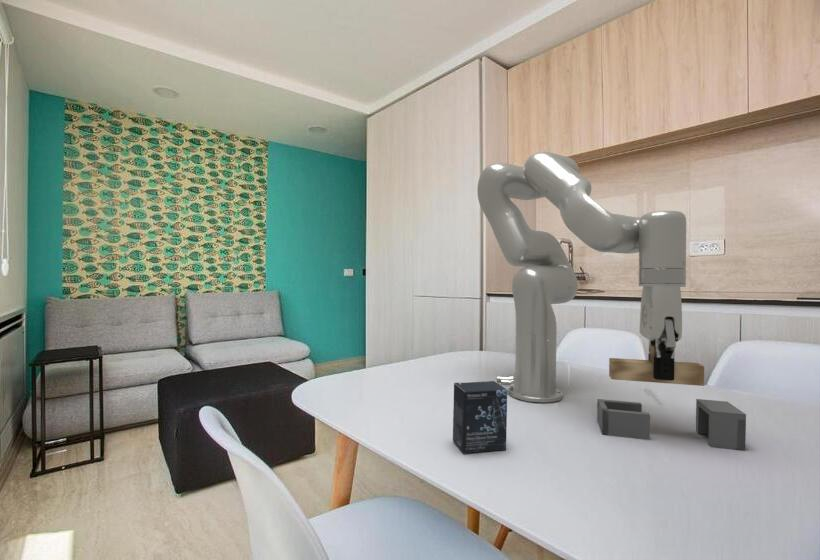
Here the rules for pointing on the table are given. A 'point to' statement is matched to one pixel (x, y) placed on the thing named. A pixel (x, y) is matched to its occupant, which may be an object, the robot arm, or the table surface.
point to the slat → (645, 370)
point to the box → (479, 416)
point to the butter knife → (652, 395)
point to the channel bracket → (721, 424)
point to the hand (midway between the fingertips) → (660, 376)
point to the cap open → (623, 419)
